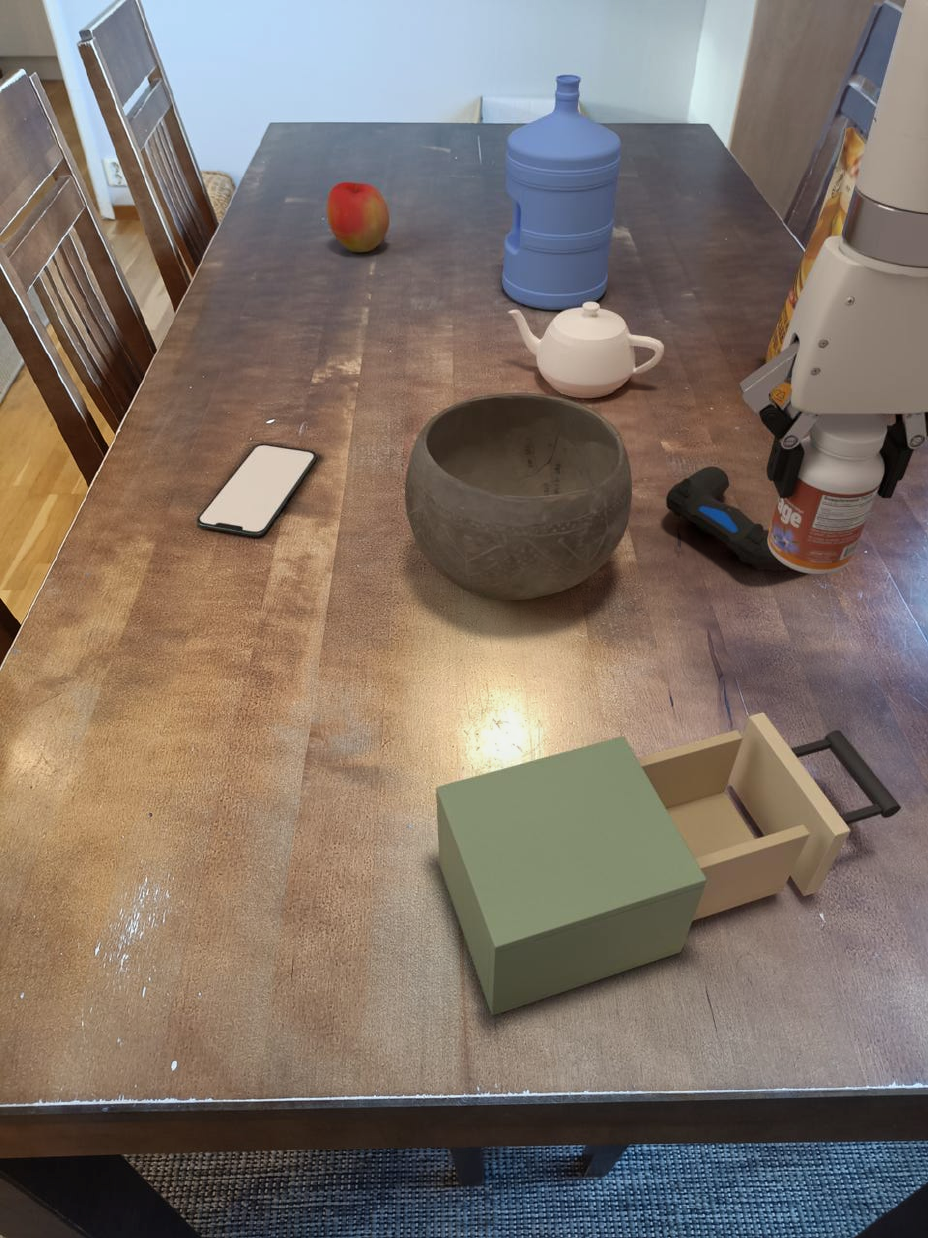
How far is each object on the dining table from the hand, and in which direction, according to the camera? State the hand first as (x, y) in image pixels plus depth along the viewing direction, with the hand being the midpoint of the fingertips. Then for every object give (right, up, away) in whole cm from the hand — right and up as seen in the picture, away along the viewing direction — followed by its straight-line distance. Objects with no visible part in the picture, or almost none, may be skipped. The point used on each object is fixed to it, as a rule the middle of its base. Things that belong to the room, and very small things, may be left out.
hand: (829, 484), depth 63 cm
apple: (-43, +51, +83) cm, 106 cm away
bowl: (-21, -4, +26) cm, 34 cm away
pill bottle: (0, -4, +4) cm, 6 cm away
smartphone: (-48, +5, +36) cm, 60 cm away
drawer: (-6, -26, +2) cm, 27 cm away
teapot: (-11, +21, +53) cm, 58 cm away
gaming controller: (+2, -1, +29) cm, 29 cm away
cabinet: (-19, -30, 0) cm, 35 cm away
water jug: (-12, +40, +72) cm, 83 cm away
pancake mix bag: (+16, +20, +51) cm, 57 cm away
